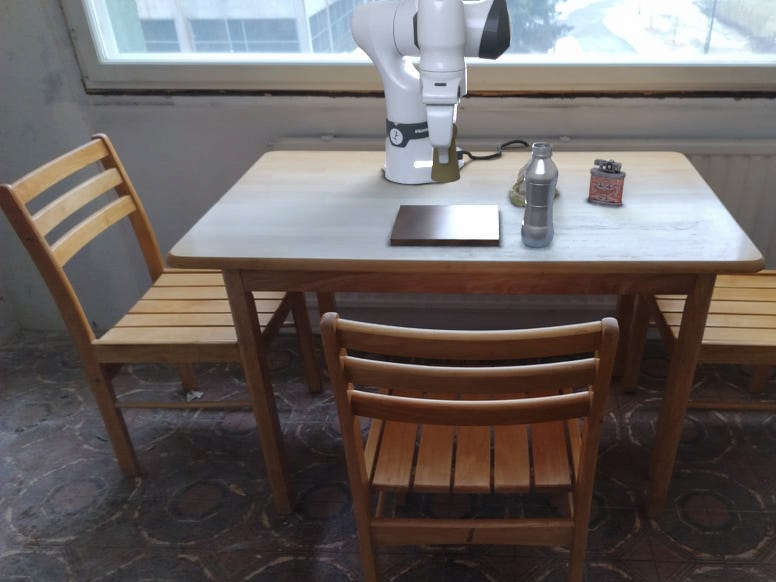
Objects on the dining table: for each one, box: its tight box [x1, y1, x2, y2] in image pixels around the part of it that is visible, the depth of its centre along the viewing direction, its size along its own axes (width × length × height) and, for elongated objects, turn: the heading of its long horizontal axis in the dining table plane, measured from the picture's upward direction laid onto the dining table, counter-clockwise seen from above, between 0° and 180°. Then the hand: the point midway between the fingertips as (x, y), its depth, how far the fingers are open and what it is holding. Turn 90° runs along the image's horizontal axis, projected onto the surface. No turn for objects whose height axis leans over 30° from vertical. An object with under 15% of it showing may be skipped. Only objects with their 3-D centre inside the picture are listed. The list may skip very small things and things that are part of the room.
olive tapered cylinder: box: [431, 122, 461, 184], centre depth 130 cm, size 6×6×11 cm
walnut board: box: [389, 204, 500, 248], centre depth 139 cm, size 22×18×2 cm
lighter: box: [587, 158, 627, 208], centre depth 148 cm, size 8×3×10 cm, turn 65°
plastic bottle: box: [520, 141, 559, 248], centre depth 127 cm, size 6×7×20 cm
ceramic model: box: [510, 155, 559, 207], centre depth 151 cm, size 14×11×10 cm
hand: (445, 157), depth 130 cm, fingers closed on olive tapered cylinder, 4 cm apart
